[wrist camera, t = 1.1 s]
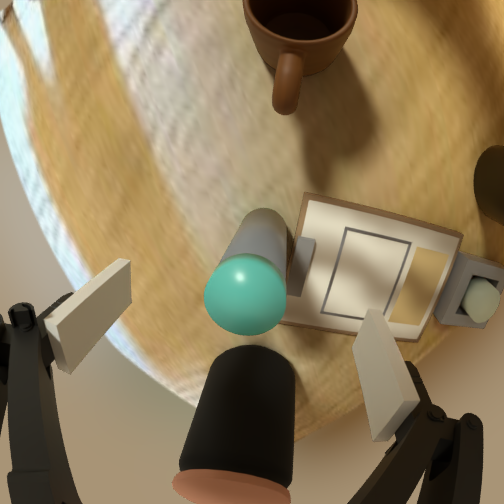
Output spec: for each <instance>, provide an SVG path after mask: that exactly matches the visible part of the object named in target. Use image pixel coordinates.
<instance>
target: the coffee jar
mask: <svg viewBox="0 0 504 504" xmlns="http://www.w3.org/2000/svg"><path fill="white" fill-rule="evenodd" d="M294 423H295V375H294V371H293V369H292V368H291V366H290V365H289V363H288V361H287V360H285V359H284V358H283V357H282V356H281V355H279V354H278V353H277V352H275V351H273V350H271V349H268V348H266V347H262V346H256V345H242V346H238V347H235V348H231V349H229V350H226V351H225V352H224V353H222V354H221V355H219V356H218V357H217V358H216V359H215V360H214V362H213V364H212V365H211V367H210V370H209V373H208V376H207V379H206V382H205V385H204V388H203V391H202V394H201V397H200V400H199V403H198V406H197V409H196V412H195V415H194V418H193V421H192V424H191V427H190V430H189V433H188V436H187V438H186V441H185V445H184V447H183V450H182V453H181V456H180V459H179V467H180V471H181V472H179V473H178V474H177V475H176V476H175V477H174V479H173V481H172V485H173V489H174V490H175V491H176V492H177V493H178V494H179V495H181V496H183V497H184V498H186V499H188V500H189V501H191V502H194V503H196V504H290V503H291V500H290V493H289V491H288V490H287V488H288V486H289V485H290V484H291V482H292V474H293V453H294V452H293V451H294Z"/></svg>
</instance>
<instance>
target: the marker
mask: <svg viewBox="0 0 504 504" xmlns="http://www.w3.org/2000/svg"><path fill="white" fill-rule="evenodd" d="M286 250H287V228H286V224H285V221H284V220H283V218H282V217H281V216H280V215H279V214H278V213H277V212H276V211H274V210H272V209H269V208H260V209H256V210H253V211H251V212H250V213H248V214H247V215H246V216H245V218H244V219H243V221H242V223H241V225H240V226H239V228H238V230H237V232H236V234H235V236H234V237H233V239H232V241H231V243H230V245H229V246H228V248H227V250H226V252H225V254H224V256H223V257H222V259H221V261H220V263H219V265H218V266H217V267H216V269H215V270H214V272H213V274H212V276H211V277H210V279H209V281H208V283H207V285H206V288H205V292H204V303H205V307H206V309H207V312H208V313H209V315H210V317H211V318H212V319H213V320H214V321H215V322H216V323H217V324H218V325H219V326H220V327H222V328H223V329H225V330H227V331H229V332H232V333H235V334H238V335H247V336H250V335H258V334H262V333H265V332H267V331H269V330H271V329H272V328H273V327H275V326H276V325H277V324H278V323H279V322H280V320H281V319H282V317H283V315H284V312H285V309H286Z"/></svg>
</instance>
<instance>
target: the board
mask: <svg viewBox="0 0 504 504" xmlns="http://www.w3.org/2000/svg"><path fill="white" fill-rule="evenodd" d="M463 236H464V235H463V234H461V233H460V232H457V231H454V230H450V229H447V228H444V227H441V226H437V225H434V224H431V223H427V222H424V221H420V220H417V219H413V218H410V217H406V216H403V215H399V214H395V213H392V212H388V211H384V210H380V209H376V208H372V207H368V206H364V205H360V204H356V203H352V202H348V201H344V200H339V199H335V198H331V197H326V196H322V195H317V194H312V193H308V192H304V196H303V200H302V205H301V210H300V215H299V219H298V224H297V229H296V233H295V238H294V242H293V247H292V251H291V255H290V260H289V264H288V268H287V273H286V309H285V312H284V315H283V317H282V319H281V320H280V322H279V323H282V324H287V325H293V326H299V327H305V328H311V329H317V330H323V331H330V332H336V333H343V334H350V335H358V332H359V330H360V327H361V325H362V323H363V320H364V318H365V315H366V313H367V310H368V308H371V309H377V310H381V312H382V314H383V316H384V318H385V320H386V322H387V324H388V326H389V329H390V331H391V333H392V335H393V337H394V339H395V340H398V341H408V342H418V341H419V340H420V338H421V336H422V334H423V332H424V330H425V328H426V326H427V324H428V322H429V320H430V318H431V316H432V314H433V312H434V309H435V307H436V305H437V303H438V301H439V298H440V296H441V294H442V292H443V289H444V287H445V284H446V282H447V280H448V277H449V275H450V272H451V269H452V267H453V264H454V262H455V259H456V256H457V253H458V250H459V248H460V245H461V242H462V239H463Z"/></svg>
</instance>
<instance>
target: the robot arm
mask: <svg viewBox="0 0 504 504" xmlns="http://www.w3.org/2000/svg"><path fill="white" fill-rule="evenodd" d="M131 303H132V299H131V267H130V260H125V259H121V258H118V259H117V260H116V261H114V262H113V263H112V264H110V265H109V266H108V267H107V268H105V269H104V270H103V271H101V272H100V273H99V274H98V275H96V276H95V277H94V278H93V279H91V280H90V281H89V282H88V283H86V284H85V285H84V286H83V287H81V288H80V289H79V290H78V291H76V292H75V293H72V292H71V293H68V294H66V295H63V296H62V297H61V298H60V299H58V300H57V301H56V302H54V303H53V304H52V305H51V306H50V307H48V308H47V309H46V310H45V311H44V312H42V313H41V314H40V315H39V316H38V317H37V318H36V315H35V311H34V307H33V306H32V305H31V304H29V303H23V302H22V303H18V304H15V305H13V306H12V307H11V308H10V309H9V311H8V314H9V318H10V321H11V324H12V325H11V324H6V323H4V321H3V317H2V315H1V314H0V434H1V429H2V424H3V419H4V415H5V410H6V406H7V402H8V427H9V441H10V450H11V459H12V468H13V469H12V471H11V472H9V473H8V475H7V482H8V488H9V493H10V498H11V503H12V504H82V502H81V500H80V498H79V496H78V493H77V490H76V487H75V484H74V481H73V477H72V474H71V470H70V467H69V463H68V459H67V455H66V452H65V447H64V443H63V438H62V433H61V429H60V423H59V418H58V412H57V405H56V398H55V391H54V382H53V372H52V367H51V363H52V362H53V361H54V359H55V361H56V364H57V367H58V369H60V370H62V371H64V372H66V373H68V374H71V373H72V372H73V371H74V369H75V368H76V367H77V366H78V365H79V363H80V362H81V361H82V360H83V359H84V357H85V356H86V355H87V354H88V353H89V351H90V350H91V349H92V348H93V347H94V346H95V344H96V343H97V342H98V341H99V340H100V338H101V337H102V336H103V335H104V334H105V333H106V331H107V330H108V329H109V328H110V327H111V326H112V325H113V323H114V322H115V321H116V320H117V319H118V318H119V317H120V315H121V314H122V313H123V312H124V311H125V310H126V309H127V307H128V306H129V305H130V304H131ZM352 351H353V355H354V359H355V363H356V367H357V371H358V375H359V379H360V384H361V388H362V392H363V397H364V402H365V406H366V411H367V416H368V421H369V426H370V431H371V436H372V441H388V440H389V439H390V438H391V437H392V436H393V434H394V433H395V436H396V441H395V443H394V444H392V446H391V447H390V448H389V449H388V450H387V451H386V452H385V454H386V455H385V456H384V458H383V459H382V461H381V462H380V463H379V465H378V466H377V467H376V469H375V470H374V471H373V473H372V474H371V475H370V477H369V478H368V479H367V480H366V482H365V483H364V484H363V486H362V487H361V488H360V489H359V490H358V492H357V493H356V494H355V495H354V496H353V498H352V499H351V500H350V501H349V502H348V503H347V504H406V503H407V501H408V499H409V498H410V496H411V494H412V493H413V491H414V489H415V488H416V485H417V484H418V482H419V480H420V479H421V477H422V475H423V473H424V471H425V474H424V479H423V483H422V487H421V491H420V494H419V498H418V501H417V504H479V503H480V494H481V485H482V472H483V471H482V470H483V425H482V422H481V420H480V419H479V418H478V417H477V416H476V415H474V414H472V413H466V414H464V415H463V416H462V417H461V418H460V420H456V419H452V418H447V416H446V413H445V412H444V410H443V409H441V408H440V407H439V406H436V405H434V404H432V402H431V400H430V398H429V395H428V393H427V390H426V388H425V386H424V384H423V381H422V379H421V378H420V375H419V372H418V370H417V368H416V367H415V366H414V365H413V364H412V363H411V362H410V361H404V360H403V357H402V355H401V353H400V350H399V348H398V346H397V344H396V342H395V339H394V337H393V335H392V333H391V331H390V329H389V326H388V324H387V322H386V320H385V318H384V316H383V314H382V312H381V310H377V309H371V308H368V310H367V313H366V315H365V318H364V320H363V323H362V325H361V327H360V330H359V332H358V335H357V337H356V339H355V342H354V344H353V346H352ZM425 469H426V470H425Z"/></svg>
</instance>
